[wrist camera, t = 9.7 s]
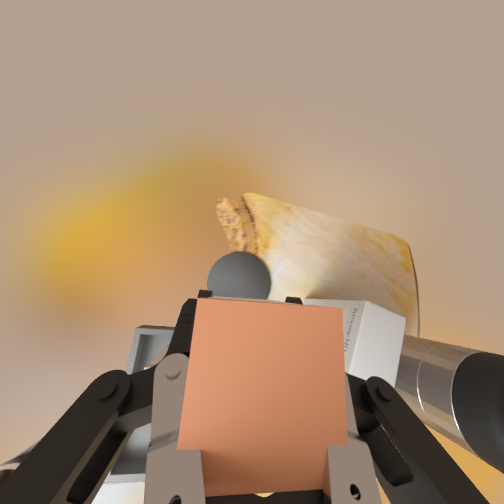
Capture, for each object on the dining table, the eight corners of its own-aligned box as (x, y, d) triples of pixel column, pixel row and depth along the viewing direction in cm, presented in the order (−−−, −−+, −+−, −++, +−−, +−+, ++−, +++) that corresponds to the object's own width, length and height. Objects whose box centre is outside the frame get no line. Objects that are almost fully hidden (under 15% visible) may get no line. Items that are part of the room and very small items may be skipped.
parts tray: (142, 325, 29) (135, 327, 26) (229, 330, 31) (230, 333, 28) (112, 465, 25) (100, 483, 22) (215, 461, 27) (215, 477, 24)
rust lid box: (213, 295, 15) (197, 297, 5) (268, 299, 16) (342, 308, 6) (206, 357, 14) (169, 499, 4) (265, 359, 15) (349, 487, 5)
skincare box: (301, 296, 34) (368, 297, 19) (327, 308, 35) (412, 318, 19) (258, 424, 29) (302, 573, 13) (289, 437, 29) (367, 597, 14)
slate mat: (268, 254, 35) (269, 253, 34) (270, 315, 32) (270, 315, 32) (209, 251, 33) (209, 251, 33) (205, 316, 31) (205, 316, 30)
